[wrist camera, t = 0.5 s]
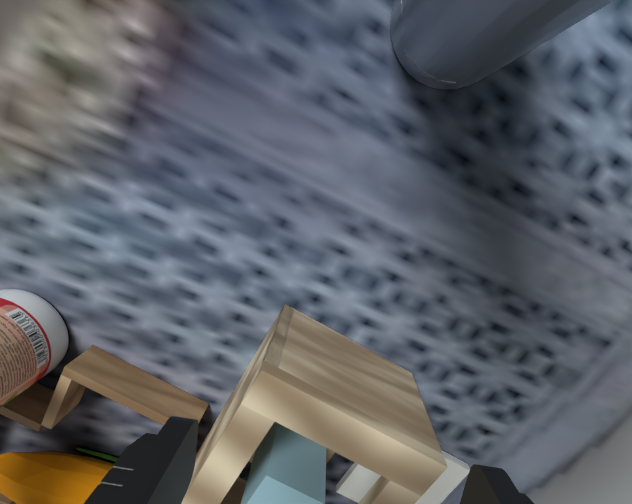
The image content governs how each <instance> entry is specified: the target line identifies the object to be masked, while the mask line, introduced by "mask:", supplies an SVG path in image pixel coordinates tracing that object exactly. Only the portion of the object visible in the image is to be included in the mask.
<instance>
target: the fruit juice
mask: <svg viewBox="0 0 632 504" xmlns="http://www.w3.org/2000/svg"><path fill="white" fill-rule="evenodd" d="M68 343H69V337H68V331H67V328H66V325H65V323H64V321H63V319H62V317H61V316H60V314H59V313H58V312H57V311H56V309H55V308H54V307H53V306H52V305H51V304H49V303H48V302H47V301H46V300H44V299H43V298H41V297H39V296H37V295H35V294H33V293H31V292H28V291H24V290H18V289H6V290H0V408H1V407H2V406H3V405H5V404H6V403H8V402H9V401H10V400H12V399H13V398H14V397H16V396H17V395H19V394H20V393H21V392H23V391H24V390H26V389H27V388H28V387H30V386H31V385H33V384H34V383H35V382H37V381H38V380H39V379H41V378H42V377H44V376H45V375H46V374H48V373H49V372H50V371H52V370H53V369H54V368H55V367H56V366H57V365H58V364H59V363H60V362H61V361H62V359H63V358H64V356H65V354H66V352H67V349H68Z"/></svg>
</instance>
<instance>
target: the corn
mask: <svg viewBox="0 0 632 504" xmlns="http://www.w3.org/2000/svg"><path fill="white" fill-rule="evenodd" d="M76 449H77V450H79V451H82V452H85V453H89V454H92V455H95V456H99V457H102V458H105V459H109V460H112V461H115V462H116V461H117V460H118V458H116V457H113V456H110V455H107V454H103V453H98V452H94V451H90V450H86V449H82V448H77V447H76ZM113 465H114V464H113V463H109V462H106V461H103V460H99V459H96V458H93V457H87V456H80V455H74V454H67V453H60V452H13V453H5V454H1V455H0V493H2V494H3V495H5V496H6V497H7V498H9V499H10V500H12V501H13V502H15V503H16V504H84V502H85V501H86V500H87V498H88V497H89V496H90V495H91V493H92V492H93V491H94V489H95V488H96V487H97V486H98V485H100V483H101V480H102V479H103V478H104V476H105V475H106V474H107V473H108V471H109V470H110V469H112V468H113Z"/></svg>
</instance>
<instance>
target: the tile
mask: <svg viewBox="0 0 632 504" xmlns="http://www.w3.org/2000/svg"><path fill="white" fill-rule="evenodd" d="M441 451H442V450H441ZM442 454H443V456H444V459H445V462H446V464H447V467H448V468H447V469H446V470H445V471H444V472H443V473H442V474H441V475H440V476H439V478H438V479H437V480H436V481H435V482H434V483H433V484H432V485H431V486H430V487H429V489H428V490H427V491H426V492H425V493H424V494H423V495H422V496H421V497H420V499H419V500H418V501H417V502H416V503H415V504H441V503H442V502H443V500H444V499H445V498H446V497H447V496H448V495H449V494H450V493H451V492H452V491H453V490H454V489H455V488H456V487H457V485H458V484H459V483H460V482H461V481H462V480H463V479H464V478H465V477H466V476H467V475H468V474H469V471H470V468H469V466H468V464H467V463H465V462H463V461H461V460H459V459H457V458H455V457H454V456H452V455H450V454H448V453H446V452H444V451H442ZM380 477H381V475H379V474H377V473H375V472H373V471H371V470H369V469H367V468H365V467H363V466H361V465H359V464H357V463H355V462H354V463H353V464H352V465H351V467H350V468H349V469H348V471H347V472H346V473H345V474H344V476H343V477H342V478H341V479H340V481H339V482H338V483H337V485H336V492H337V493H339V494H341V495H343V496H345V497H347V498H349V499H351V500H353V501H355V502H357V503H359V502H360V501H361V499H362V498H363V497H364V496H365V495H366V493H367V492H368V491H369V490H370V489H371V487H372V486H373V485H374V484H375V483H376V481H377V480H378V479H379V478H380Z"/></svg>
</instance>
